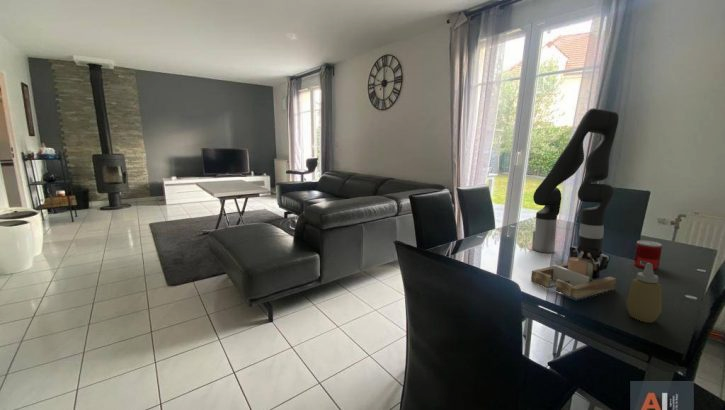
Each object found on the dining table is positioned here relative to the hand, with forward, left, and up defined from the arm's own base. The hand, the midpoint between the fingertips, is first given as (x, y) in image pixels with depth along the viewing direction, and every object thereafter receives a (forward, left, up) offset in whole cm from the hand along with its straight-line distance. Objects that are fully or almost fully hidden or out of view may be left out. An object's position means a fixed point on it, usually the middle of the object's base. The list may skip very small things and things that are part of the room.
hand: (586, 275), depth 119 cm
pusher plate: (0, -15, -2) cm, 16 cm away
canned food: (+1, +37, -3) cm, 37 cm away
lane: (0, -8, -2) cm, 9 cm away
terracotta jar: (0, -6, -2) cm, 6 cm away
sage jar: (0, 0, -2) cm, 2 cm away
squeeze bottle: (+24, -11, -3) cm, 26 cm away
